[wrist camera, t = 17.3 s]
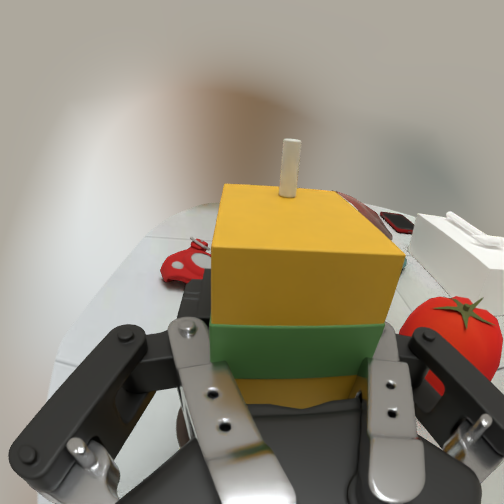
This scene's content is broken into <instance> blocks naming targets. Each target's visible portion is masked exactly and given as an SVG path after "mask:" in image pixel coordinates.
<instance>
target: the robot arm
mask: <svg viewBox="0 0 504 504" xmlns="http://www.w3.org/2000/svg"><path fill="white" fill-rule="evenodd" d="M210 314H211V269H210V268H205V269H204V274H203V279H192V280H191V281H189V282H188V283H187V284H186V286H185V290H184V293H183V297H182V301H181V304H180V308H179V312H178V316H177V319H176V320H174V321H172V322H171V323H170V324H169V326H168V330H167V331H164V332H161V333H156V334H149V335H146V334H145V331H144V330H143V329H142V328H141V327H139V326H136V325H131V324H126V325H121V326H118V327H116V328H114V329H112V330H111V331H110V332H109V333H108V334H107V336H106V337H105V338H104V339H103V340H102V341H101V342H100V343H99V344H98V345H97V346H96V347H95V348H94V350H93V351H92V352H91V353H90V354H89V355H88V356H87V357H86V358H85V359H84V361H83V362H82V363H81V364H80V365H79V366H78V367H77V368H76V369H75V371H74V372H73V373H72V374H71V375H70V376H69V377H68V378H67V380H66V381H65V382H64V383H63V384H62V385H61V386H60V387H59V389H58V390H57V391H56V392H55V393H54V394H53V396H52V397H51V398H50V399H49V400H48V401H47V402H46V404H45V405H44V406H43V407H42V408H41V410H40V411H39V412H38V413H37V414H36V415H35V417H34V418H33V419H32V420H31V422H30V423H29V424H28V425H27V426H26V428H25V429H24V430H23V431H22V432H21V434H20V435H19V436H18V437H17V439H16V440H15V441H14V442H13V444H12V445H11V447H10V450H9V463H10V465H11V467H12V469H13V470H14V471H15V472H16V473H17V474H18V475H19V476H20V477H21V478H23V479H24V480H25V481H26V482H27V483H28V484H29V485H30V486H31V487H32V488H33V489H34V490H36V491H37V492H38V493H39V494H41V495H42V496H43V497H45V498H46V499H47V500H49V501H50V502H52V503H55V504H481V497H482V489H481V483H482V482H483V481H484V480H485V479H486V478H487V477H488V476H489V475H490V474H491V473H492V472H493V471H494V470H495V469H496V468H497V467H499V466H500V465H501V464H502V463H503V462H504V395H503V394H502V393H501V392H500V391H499V390H498V389H497V388H496V387H495V386H494V385H493V384H492V383H491V382H490V381H489V380H488V379H487V378H486V377H485V376H484V375H483V374H482V373H481V372H480V371H479V370H478V369H477V368H476V367H475V366H474V365H473V364H472V363H471V362H469V361H468V360H467V359H466V358H465V357H464V356H463V355H462V354H461V353H460V352H459V351H458V350H457V349H455V348H454V347H453V346H452V345H451V344H450V343H449V342H448V341H447V340H446V339H444V338H443V337H442V336H441V335H440V334H439V333H438V332H436V331H435V330H433V329H431V328H427V327H419V328H416V329H415V330H414V332H413V334H412V336H405V335H399V334H395V331H394V328H393V327H392V326H391V325H390V324H389V323H387V322H385V327H384V330H383V333H382V335H381V338H380V340H379V343H378V345H377V348H376V350H375V353H374V355H373V358H369V357H365V358H364V359H363V360H362V362H361V365H360V367H359V370H358V372H357V377H356V380H355V383H354V385H353V387H352V389H351V392H350V394H349V396H348V398H347V399H343V400H333V401H329V402H326V403H322V404H319V405H316V406H313V407H309V408H305V409H297V408H291V407H285V406H279V405H273V404H246V403H245V401H244V398H243V396H242V394H241V392H240V390H239V388H238V385H237V383H236V381H235V379H234V376H233V374H232V372H231V370H230V367H229V365H228V363H227V362H226V361H225V360H223V361H218V362H211V361H210V340H209V322H210ZM429 370H431V371H432V372H433V373H434V374H435V375H436V376H437V377H438V378H439V379H440V381H441V382H442V383H443V385H444V388H445V390H444V394H443V395H442V396H441V395H440V394H439V393H438V392H437V391H436V390H435V389H434V388H433V387H432V386H431V385H430V383H429V382H428V381H427V380H426V379H425V377H426V375H427V373H428V371H429ZM176 387H177V391H178V395H179V399H180V403H181V407H182V410H183V414H184V418H185V422H186V426H187V430H188V434H189V438H190V440H189V441H188V442H187V443H186V444H185V445H184V446H183V447H182V448H181V449H179V450H178V451H177V452H176V453H175V454H174V455H173V456H172V457H170V458H169V459H168V460H167V461H166V462H165V463H164V464H162V465H161V466H160V467H159V468H158V469H157V470H155V471H154V472H153V473H152V474H151V475H149V476H148V477H147V478H146V479H145V480H143V481H142V482H141V483H140V484H138V485H137V486H136V487H135V488H134V489H132V490H131V491H130V492H128V493H127V494H126V495H125V496H123V497H122V498H121V499H120V500H119V498H118V495H117V486H118V483H119V480H120V471H119V468H118V466H117V465H116V463H115V462H114V459H115V458H116V456H117V454H118V453H119V451H120V450H121V448H122V446H123V445H124V443H125V441H126V440H127V438H128V437H129V435H130V433H131V432H132V430H133V429H134V427H135V425H136V424H137V422H138V420H139V419H140V417H141V416H142V414H143V412H144V411H145V409H146V408H147V406H148V404H149V403H150V401H151V400H152V398H153V396H154V395H155V393H156V391H158V390H164V389H170V388H176ZM415 416H416V418H417V419H418V420H419V421H420V422H421V424H422V425H423V426H424V427H425V429H426V430H427V431H428V432H429V433H430V435H431V436H432V437H433V438H434V440H435V441H436V442H437V443H438V444H439V446H440V447H441V448H442V449H443V450H441V449H440V448H438V447H437V446H435V445H433V444H432V443H430V442H429V441H427V440H426V439H424V438H423V437H421V436H420V435H418V434H417V429H416V418H415Z"/></svg>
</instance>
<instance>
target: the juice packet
mask: <svg viewBox="0 0 504 504" xmlns="http://www.w3.org/2000/svg"><path fill="white" fill-rule="evenodd" d="M300 150H301V141H300V140H296V139H284V141H283V152H282V164H281V175H280V186H279V187H274V186H258V185H240V184H224V187H223V192H222V197H221V201H220V206H219V211H218V216H217V220H216V225H215V230H214V235H213V240H212V245H211V314H210V322H209V340H210V361H211V362H218V361H223V360H225V361H226V362H227V363H228V365H229V367H230V370H231V372H232V374H233V376H234V379H235V381H236V383H237V385H238V388H239V390H240V392H241V394H242V396H243V398H244V401H245V403H246V404H273V405H279V406H285V407H291V408H297V409H305V408H309V407H313V406H316V405H319V404H322V403H326V402H329V401H333V400H343V399H347V398H348V396H349V394H350V392H351V389H352V387H353V385H354V383H355V380H356V377H357V372H358V370H359V367H360V365H361V362H362V360H363V359H364V358H365V357H369V358H373V355H374V353H375V350H376V348H377V345H378V343H379V340H380V338H381V335H382V333H383V330H384V327H385V319H386V317H387V314H388V311H389V308H390V305H391V302H392V299H393V296H394V293H395V290H396V287H397V284H398V280H399V277H400V274H401V270H402V267H403V263H404V260H405V254H404V253H403V252H402V251H401V250H400V249H399V248H398V247H397V246H396V245H395V244H394V243H393V242H392V241H391V240H390V239H389V238H387V237H386V236H385V235H384V234H383V233H382V232H381V231H380V230H379V229H378V228H377V227H375V226H374V225H373V224H372V223H371V222H370V221H369V220H368V219H367V218H365V217H364V216H363V215H362V214H361V213H360V212H359V211H357V210H356V209H355V208H354V207H353V206H352V205H351V204H349V203H348V202H347V201H346V200H345V199H343V198H342V197H341V196H340V195H339V194H337V193H336V192H335V191H324V190H314V189H301V188H297V180H298V172H299V171H298V170H299V162H300Z"/></svg>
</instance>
